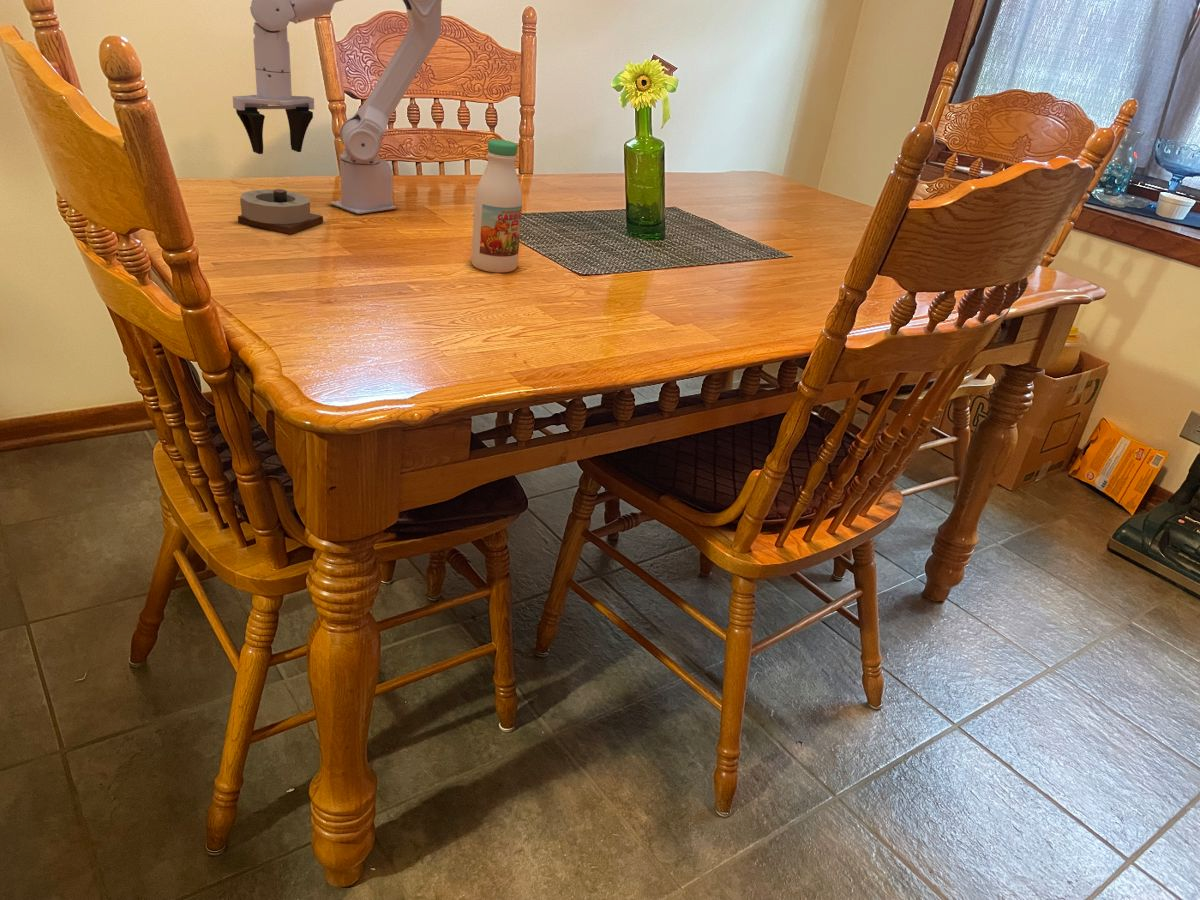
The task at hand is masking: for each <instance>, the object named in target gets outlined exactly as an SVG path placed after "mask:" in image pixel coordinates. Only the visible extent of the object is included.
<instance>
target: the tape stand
mask: <svg viewBox="0 0 1200 900" xmlns="http://www.w3.org/2000/svg"><path fill="white" fill-rule="evenodd" d="M272 190H273V197H274V202H277V203H283V202H287V191H288V190H286V189H283V188H279V189H278V188H276V189H275V188H274V189H272ZM237 223H238V224H241V225H246V226H251V227H255V228H259V229H264V230H268V231H273V232H278V233H282V234H285V235H293V234H296V233H298V232H301V231H304V230H307V229H310V228H313V227H315V226H317V225H320V224H323V223H324V215H321V214H317V213H311V212H310V219H309V220H306V221H304V222H301V223H294V224H269V223H262V222H257V221H252V220H249V219H247V218H246V217H244V216H242V214H240V215H237Z"/></svg>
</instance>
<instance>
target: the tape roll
mask: <svg viewBox="0 0 1200 900" xmlns="http://www.w3.org/2000/svg"><path fill="white" fill-rule="evenodd" d="M273 190H274V189H269V188H268V189H251V190H249V191H245V192H241V194H240V212H241V213H240V214H241V215H242V216H244V217H246V218H247V219H249V220H252V221H257V222H262V223H269V224H294V223H301V222H304V221H306V220H309V219H310V213H311V198H310V197H309V196H306V195H304V194H303V193H300V192H295V191H290V190H286V191H287V202H283V203H277V202H274V197H273Z"/></svg>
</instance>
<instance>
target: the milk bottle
mask: <svg viewBox="0 0 1200 900" xmlns="http://www.w3.org/2000/svg"><path fill="white" fill-rule="evenodd" d="M517 154H518V144H517V143H516V142H514V141H511V140H505V139H490V140H489V141H488V143H487V154H486V155H487V156H488V160H487V164H486V166H485V169H484V172H483V174H482V176H481V178H480V179H479V181H478V184H477V186H476V191H475V195H474V206H473V207H474V208H473V219H472V237H471V257H470V261H471V264H472V266H473V267H474V268H476V269H478V270H482V271H484V272H486V271H487V272H489V273H508V272H514V271H515V270H516V269H517V267H518V262H519V261H518V260H519V252H520V251H519V250H520V237H521V226H522V213H523V191H522V187H521V183H520V180H519V177H518V175H517V174H518V173H517V170H516V163H515V162H516V159H517Z"/></svg>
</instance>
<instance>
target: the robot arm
mask: <svg viewBox="0 0 1200 900" xmlns="http://www.w3.org/2000/svg"><path fill="white" fill-rule="evenodd" d="M343 1H344V0H251V3H250V6H249V10H250V14H251V16H252V18H253V19H254V21H255V22H253V28H252V30H253V31H252V32H253V35H254V37H253V40H252V41H253V55H254V56H253V57H254V70H255V72H254V73H255V87H256V94H249V95H247V94H246V95H233V96H232V107H233V109H234V110H235V112H236V114H237V117H238V118H239V119H240V122H241V124H242V125H243V127H244V129H245V131H246V133H247V136H248V139H249V142H250V145H251V149H252V152H253V153H255V154H258V155H264V135H263V134H264V133H263V132H264V123H265V118H266V116H265V114H262V113H260V111H258V110H285V113H286V117H287V122H288V126H289V140H290V148H291V149H290V150H291V151H294V152H297V153H301V152H302V149H303V145H304V144H303V143H304V141H305V140H304V139H305V136H306V132H307V130H308V128H309V125H310V124H311V121H312V120H313V118H314V112H313V111H312V110H315V98H314V97H311V96H307V95H306V96H305V95H293V94H292V93H293V91H292V72H291V71H292V70H291V53H290V51H291V50H290V49H291V48H290V42H289V40H288V26H289V24H290V23H294V24H295V25H296V24H301V23H302V22H306V21H309V20H312V19H316V18H320V17H323V16H326V15H329V14H331V13H332V11H333V8H334V6H335V4H336V3H338V2H343ZM402 2H403V3H404V5H405V9H406V13H407V16H408V20H409V25H410V27H409V28H408V30H407V32H406V33H405V35H404V37H403V38H402V40H401V41H400V43H399V45H398V47H397V48H396V50H395V52H394V54H393V55H392V57H391V58H390V60H389V62H388V64H387V65H386V67H385V68H384V70H383V71H382V74H381V75H380V77H379V78H378V80H377V82H376V83H375V85H374V87H373V89H372V90H371V91H370V94H369V95H368V97H367V98H366V100H365V102H364V103H363V104H362V105H361V106H360V107H359V108H358V109H357V111H356V112H355V114H354V115H353V116H351V117H350V118H348V119H347V120H345V121H344V122H343V123H342V125H341V127H340V129H339V138H340V141H341V143H342V145H343V146H344V150H343V151H342V152H341V153H340V155H339V170H340V171H339V173H340V174H339V176H340V177H339V179H340V200H333V201H330V205H331V206H334V207H337V208H340V209H343V210H345V211H348V212H351V213H354V214H356V215H362V214H369V213H370V214H371V213H376V212H383V211H389V210H391V211H392V210H396V208H397V206H396V205H394V173H393V169H392V167H391V164H389V162H388V161H387V160H385V159H384V158H381V157H380V156H379V154H380V151H381V145H382V144H381V143H382V140H383V138H384V135H385V134H386V131H387V128H388V125H389V122H390V121H389V120H391V117H392V115H393V114H394V112H395V110H396V109H397V107H398V106H399V105H400V102H401V100H402V99H403V97H404V95H405V94H406V92H407V91H408V89H409V87H410V86H411V84H412V83H413V81H414V79H415V78H416V76H417V74H418V72H419V71H420V70H421V67H422V66H423V64H424V63H425V61H426V60H427V58H428V56H429V54H430V53H431V51H432V50H433V48H434V46H435V45H436V43H437V42H438V40H439V38H440V36H441V34H442V2H443V0H402Z"/></svg>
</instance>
